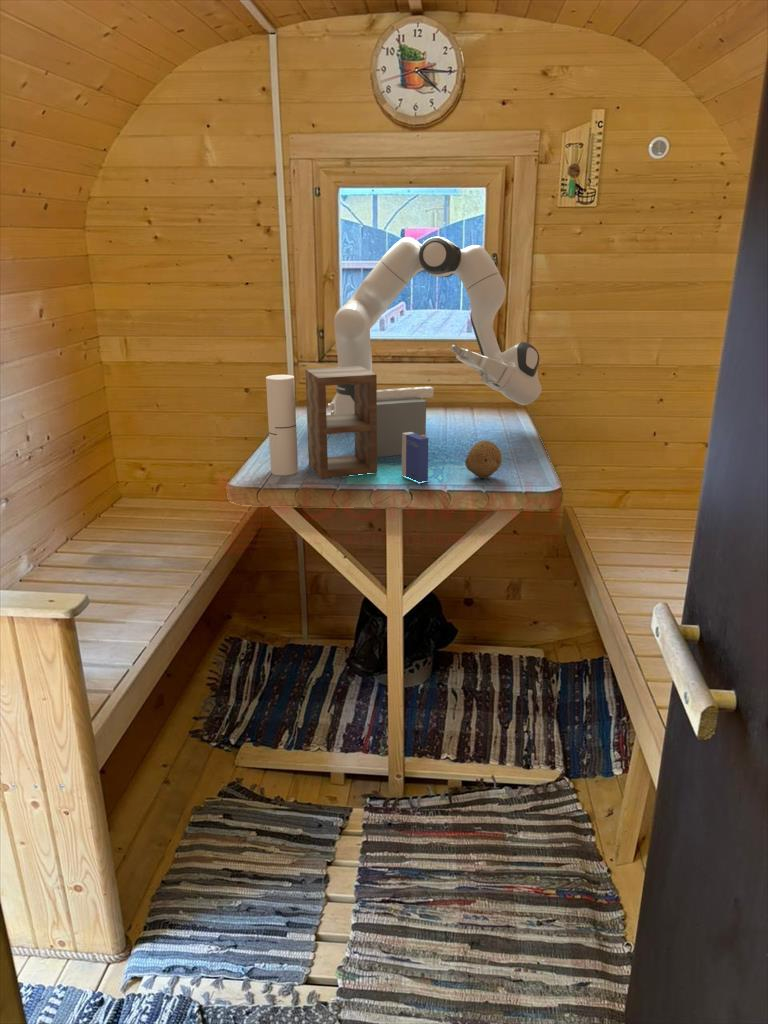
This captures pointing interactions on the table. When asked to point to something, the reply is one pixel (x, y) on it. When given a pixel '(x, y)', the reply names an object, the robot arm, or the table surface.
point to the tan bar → (405, 393)
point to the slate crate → (398, 423)
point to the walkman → (415, 456)
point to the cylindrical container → (282, 424)
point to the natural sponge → (484, 459)
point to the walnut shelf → (342, 421)
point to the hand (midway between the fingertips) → (458, 349)
